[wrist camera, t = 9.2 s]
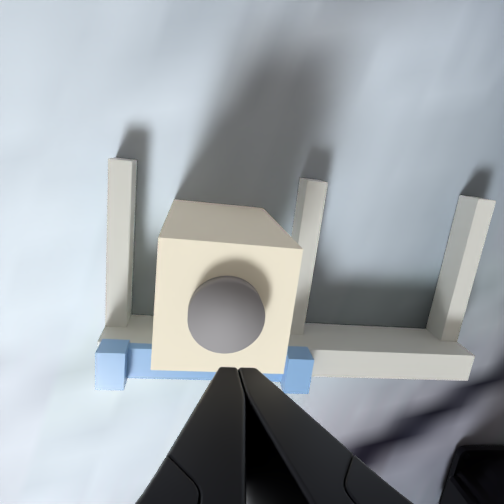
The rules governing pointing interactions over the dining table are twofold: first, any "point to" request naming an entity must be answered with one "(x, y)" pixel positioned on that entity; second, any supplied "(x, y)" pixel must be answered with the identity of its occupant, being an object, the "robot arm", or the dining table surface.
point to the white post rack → (300, 305)
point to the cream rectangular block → (223, 289)
